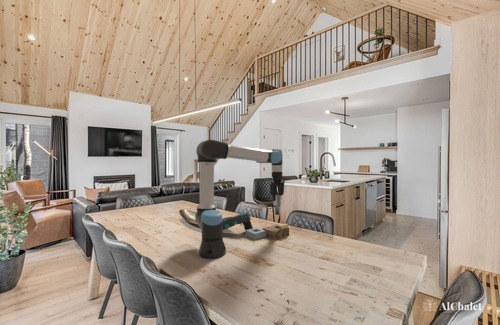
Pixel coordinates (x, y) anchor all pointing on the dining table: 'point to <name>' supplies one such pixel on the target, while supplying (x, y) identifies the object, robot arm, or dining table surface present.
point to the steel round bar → (277, 208)
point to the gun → (237, 221)
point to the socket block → (276, 232)
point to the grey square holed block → (256, 233)
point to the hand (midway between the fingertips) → (277, 204)
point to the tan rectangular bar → (283, 226)
